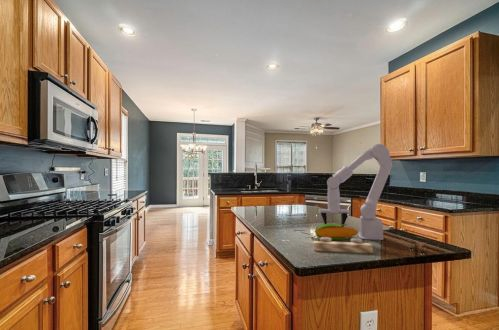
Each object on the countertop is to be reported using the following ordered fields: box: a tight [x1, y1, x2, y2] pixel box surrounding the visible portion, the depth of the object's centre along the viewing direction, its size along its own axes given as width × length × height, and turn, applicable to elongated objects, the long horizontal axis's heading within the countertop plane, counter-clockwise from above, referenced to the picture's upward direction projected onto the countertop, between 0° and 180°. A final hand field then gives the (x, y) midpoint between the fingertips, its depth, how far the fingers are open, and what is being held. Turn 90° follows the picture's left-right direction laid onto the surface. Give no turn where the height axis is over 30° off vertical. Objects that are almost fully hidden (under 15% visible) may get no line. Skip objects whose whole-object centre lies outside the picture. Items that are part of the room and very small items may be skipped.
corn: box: [314, 223, 359, 241], centre depth 116 cm, size 7×8×20 cm
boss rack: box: [313, 237, 374, 254], centre depth 102 cm, size 22×7×4 cm, turn 78°
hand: (334, 228), depth 124 cm, fingers open, 7 cm apart
